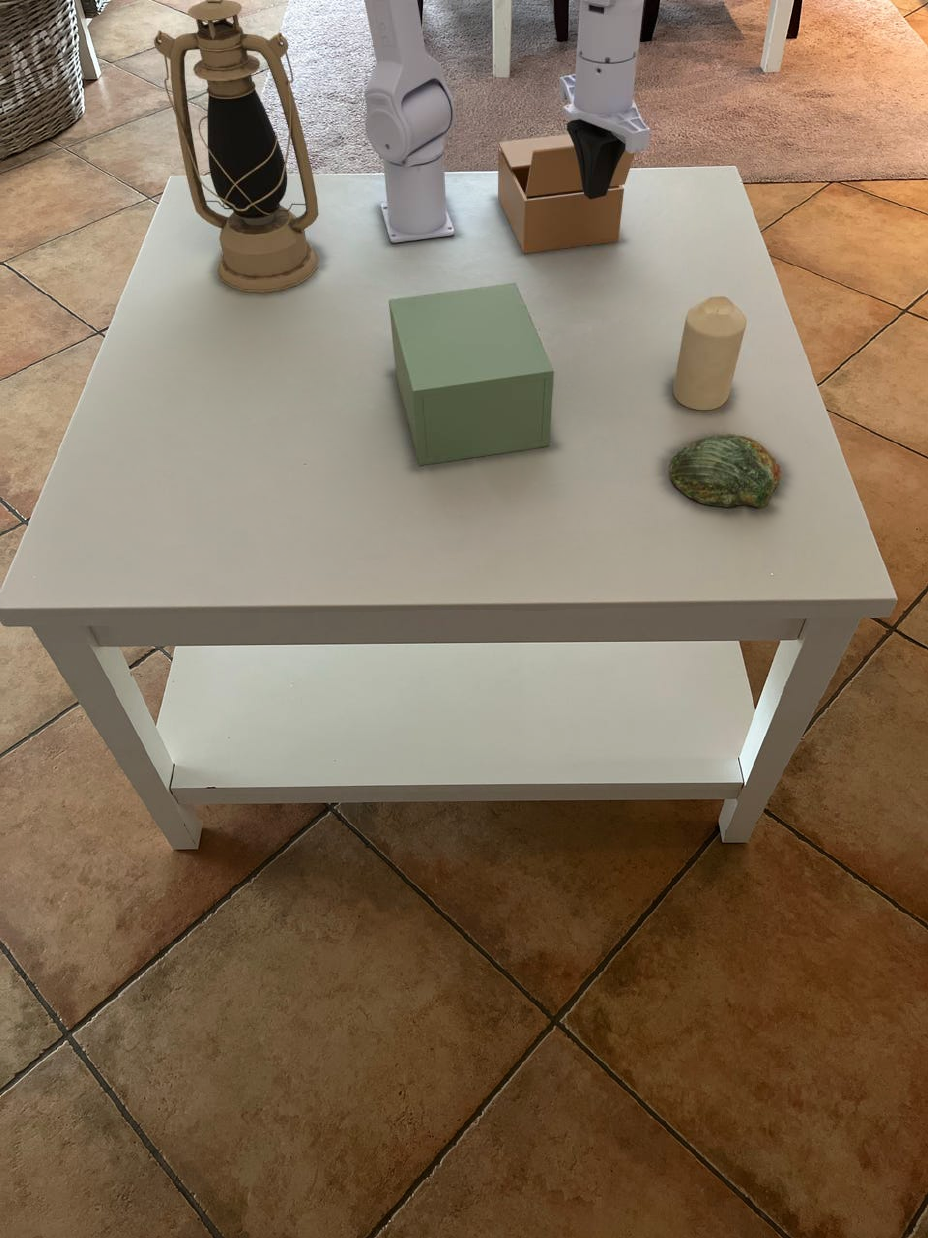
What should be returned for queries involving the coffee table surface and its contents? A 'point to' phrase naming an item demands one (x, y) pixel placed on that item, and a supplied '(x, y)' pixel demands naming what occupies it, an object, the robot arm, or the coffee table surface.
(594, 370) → the coffee table surface
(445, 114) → the robot arm
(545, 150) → the flap
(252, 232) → the lantern
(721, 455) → the seashell
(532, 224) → the carton
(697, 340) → the candle
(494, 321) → the cabinet
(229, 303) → the coffee table surface
